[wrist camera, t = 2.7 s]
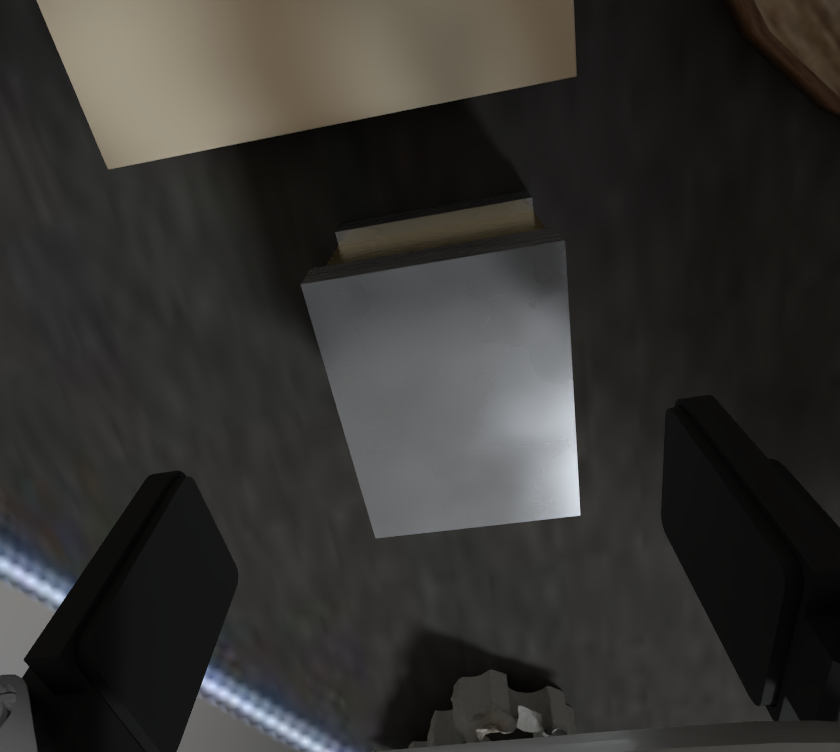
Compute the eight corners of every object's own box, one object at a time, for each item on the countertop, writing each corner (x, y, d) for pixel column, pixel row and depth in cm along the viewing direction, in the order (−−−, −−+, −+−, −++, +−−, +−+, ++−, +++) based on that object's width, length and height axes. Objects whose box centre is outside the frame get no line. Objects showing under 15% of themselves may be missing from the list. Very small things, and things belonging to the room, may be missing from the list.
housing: (526, 190, 17) (565, 240, 12) (544, 405, 21) (580, 515, 16) (341, 222, 18) (300, 284, 13) (391, 425, 22) (375, 538, 16)
